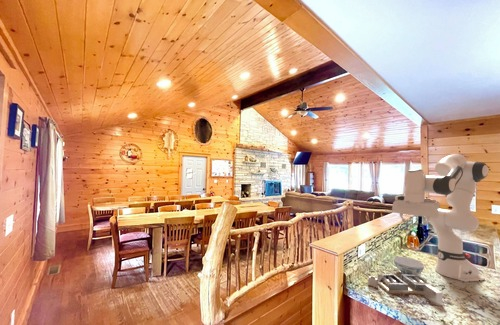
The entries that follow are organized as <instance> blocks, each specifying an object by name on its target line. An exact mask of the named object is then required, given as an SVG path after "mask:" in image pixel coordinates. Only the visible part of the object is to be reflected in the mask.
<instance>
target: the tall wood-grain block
mask: <svg viewBox="0 0 500 325" xmlns="http://www.w3.org/2000/svg"><path fill="white" fill-rule="evenodd" d="M428 284H429V283H426V284H424V294H423V296H424V298H426V299H427V300H428V301H430V302H431V303H432V304H434V305H435V306H443V292H442V291H441V290H439V289H438V288H436V287H434V285H433V286H431V285H428Z"/></svg>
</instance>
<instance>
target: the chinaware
mask: <svg viewBox="0 0 500 325" xmlns="http://www.w3.org/2000/svg"><path fill="white" fill-rule="evenodd" d="M393 263H394V266H395V267H396V269H398V271H399V272H401V274H403V275H418V276H419V275H420V274H421V273H423V271H424V269H425V264H424V263H423V262H422V261H420V260H417V259H415V258H410V257H407V256H395V257H393Z"/></svg>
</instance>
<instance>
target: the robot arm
mask: <svg viewBox="0 0 500 325" xmlns="http://www.w3.org/2000/svg"><path fill="white" fill-rule="evenodd" d="M434 166H435V167H434V170H435V172H436V173H437V174H438V175H427V174H425V171H424V169H420V168H415V169H413V168H412V169H411V168H410V169H408V170H406V171H405V176H404V186H405V188H404V189H405V190H404V194H400V195H396V196H395V197H394V201H393V203H392V207H391V211H392V213H395V214H399V217H400V218H401V223H406V218H404V217H403V216H404V215H410V216H417V217H418V216H419V217H423V218H425V221H424V220H423V225H422V226H428V223H429V224H430V225H431V226H432V227H433V229H434V230H435V233H436V236H437V244H438V245H437V246H438V247H437V250H436V252H437V259H436V260H437V261H436V265H435V268H434V271H435V272H436V273H438V274H439V275H442V276H444V277H447V278H450V279H455V280H458V281H461V282H464V283H465V282H466V283H470V282H478V281H479V280H480V281H485V277H484V276H482V275H481V274H480V273H479V270H478V267H477V266H476V265H474V264H473V263H472V262H471V261H469V260H468V259H467V258H469V259H470V257H471V254H469V253H464V249H463V248H464V245H463V244H464V243H463V240H462V238H461V237H460V236H459V235H457V234H456V233H455V232H454V231H453V230H458V231H462V232H475V231H476V230H477V229H478V228H479V226H480V220H479V218H477V216H476V215H475V214H473V212H472V210H471V204H472V201H473V198H474V196H475V194H476V189H477V188H476V187H477V183H480V182H481V181H482V180H484V179H485V178H486V177H487V176H488V175H489V166H488V165H487V164H486V163H485V162H482V161H470V160H469V161H468V160H467V158H466V156H464V155H463V154H460V153H451V154H449V155H447V156H444V157H442V158H441V159H440V160H438V161H437V162H436V164H435V165H434ZM425 193H427V194H438V195H442V196H446V197H445V201H446V203H447V204H448V205H449V206H450V207H452V208H451V209H447V208H446V209H445V208H440V202H439V201H437V200H436V199H427V198H426V197H425V196H426V194H425ZM469 281H470V282H469Z"/></svg>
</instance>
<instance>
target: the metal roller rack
mask: <svg viewBox="0 0 500 325" xmlns="http://www.w3.org/2000/svg"><path fill="white" fill-rule="evenodd" d="M382 274H383V275H384V276H383V278H382V279H381V281H380V282H379V281H378V285H379V286H380V287H381V288H382V289H383V290H384V291H385V292H386V293H388V294H413V295H415V294H416V295H418V294H419V295H420V294H422V295H424V284H428V285H431V286H433V287H434V284H432V283H426V282H424V281H423V280H421V279H420V276H419V274H418V275H403V274H402V273H401V274H400V277H398V276H397V275H396V274H394V273H393V274H392V273H382ZM380 275H381V273H377V279H378V278H379V276H380Z"/></svg>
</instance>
